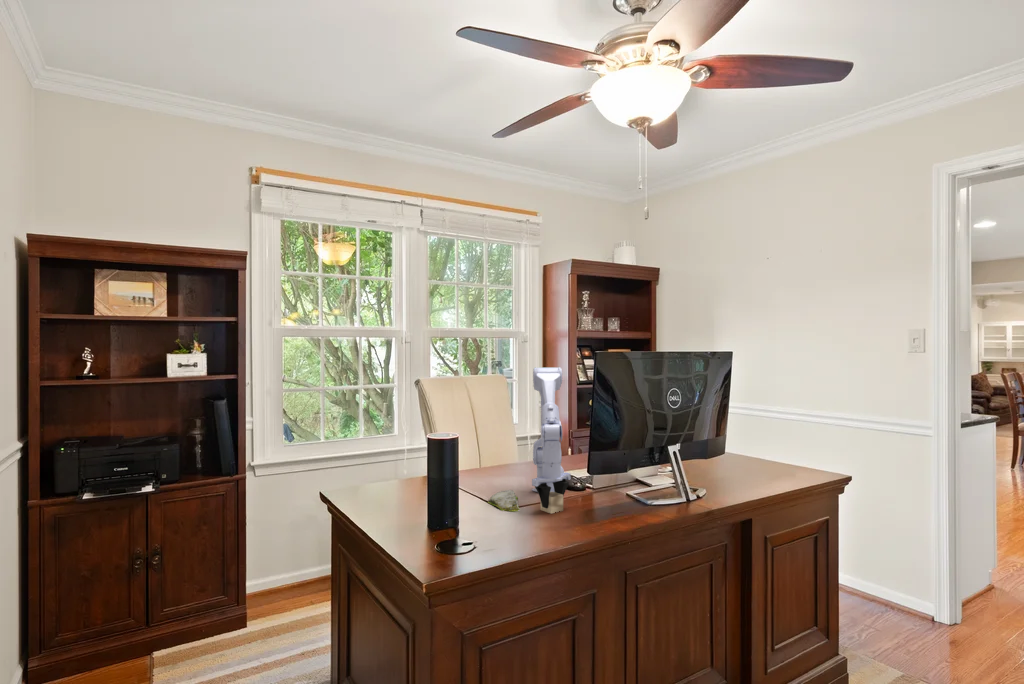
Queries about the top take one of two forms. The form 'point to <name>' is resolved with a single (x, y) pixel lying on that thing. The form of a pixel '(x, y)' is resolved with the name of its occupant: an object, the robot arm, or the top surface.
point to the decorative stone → (505, 500)
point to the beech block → (554, 503)
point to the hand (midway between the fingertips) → (551, 505)
